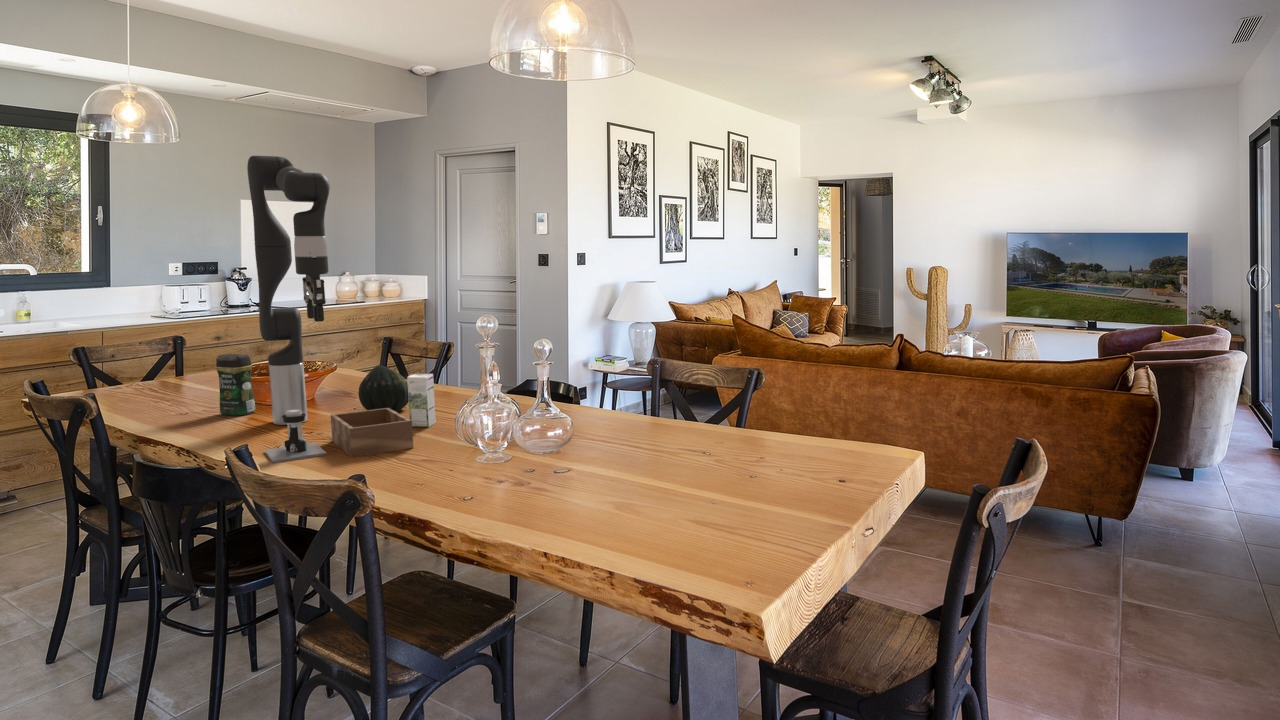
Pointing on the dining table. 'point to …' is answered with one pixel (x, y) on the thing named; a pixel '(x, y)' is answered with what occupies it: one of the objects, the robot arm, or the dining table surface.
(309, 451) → the slate pad
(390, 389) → the squash
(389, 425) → the walnut box frame
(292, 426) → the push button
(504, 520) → the dining table surface
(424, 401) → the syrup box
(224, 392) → the coffee jar
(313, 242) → the robot arm
